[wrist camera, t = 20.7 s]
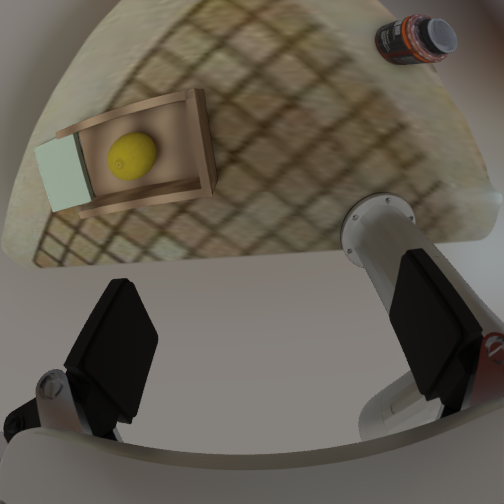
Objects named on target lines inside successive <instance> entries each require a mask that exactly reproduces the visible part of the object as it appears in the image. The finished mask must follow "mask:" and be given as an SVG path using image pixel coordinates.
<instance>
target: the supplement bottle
mask: <svg viewBox="0 0 504 504" xmlns="http://www.w3.org/2000/svg"><path fill="white" fill-rule="evenodd" d="M376 44H377V47H378V49H379V51H380V53H381V54H382V55H383V56H384V57H385V58H386V59H387V60H388V61H390V62H392V63H394V64H398V65H407V64H418V63H435V62H440V61H442V60H443V59H445V58H446V57H447V55H448V53H452V52H454V51H455V49H456V47H457V38H456V35H455V33H454V31H453V29H452V28H451V26H450V25H449V24H448V23H446V22H445V21H444V20H442V19H439V18H431V17H429V16H426V15H422V14H417V15H412V16H409V17H406V18H403V19H401V20H398V21H395V22H393V23H390V24H387V25H385V26H383V27H381V28H380V29H379V30H378V32H377V34H376Z"/></svg>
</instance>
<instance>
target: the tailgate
mask: <svg viewBox="0 0 504 504" xmlns="http://www.w3.org/2000/svg"><path fill="white" fill-rule="evenodd" d="M34 151H35V155H36V159H37V163H38V166H39V170H40V173H41V177H42V180H43V183H44V186H45V189H46V193H47V196H48V198H49V201H50V204H51V207H52V210H53V212H55V211H59V210H62V209H66V208H69V207H73V206H76V205H80V204H84V203H87V202H90V201H92V200H93V199H94V198H95V197H94V194H93V191H92V188H91V184H90V181H89V177H88V174H87V170H86V167H85V163H84V159H83V155H82V151H81V147H80V143H79V139H78V135H77V133H74V134H71V135H69V136H66V137H63V138H61V139H58V140H57V138H56V139H53V140H51V141H49V142H47V143H45V144H42V145H40V146H38V147H36V148H34Z"/></svg>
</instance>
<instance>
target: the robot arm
mask: <svg viewBox="0 0 504 504" xmlns="http://www.w3.org/2000/svg"><path fill="white" fill-rule="evenodd" d="M341 244H342V248H343V250H344V252H345V255H346V256H347V257H348V259H349V260H350V261H351V262H352V263H353V264H355V265H357V266H359V267H363V268H365V270H366V272H367V273H368V275H369V277H370V279H371V281H372V283H373V285H374V287H375V288H376V291H377V292H378V295H379V297H380V299H381V301H382V303H383V305H384V306H385V309H386V311H387V313H388V315H389V318H390V322H391V324H392V326H393V329H394V331H395V333H396V335H397V337H398V340H399V342H400V345H401V347H402V349H403V352H404V354H405V356H406V358H407V361H408V364H409V366H410V369H411V370H410V371H408V372H407V373H406V374H404V375H403V376H401V377H400V378H399V379H397V380H396V381H394V382H393V383H392V384H390V385H389V386H387V387H386V388H385V389H383V390H382V391H380V392H379V393H378V394H376V395H375V396H374V397H373V398H371V399H370V400H369V401H368V402H367V404H366V405H365V406H364V408H363V409H362V411H361V413H360V416H359V423H358V427H359V434H360V437H361V440H362V442H359V443H354V444H349V445H343V446H338V447H332V448H326V449H318V450H311V451H302V452H292V453H278V454H257V455H225V454H203V453H189V452H179V451H171V450H163V449H156V448H149V447H143V446H138V445H133V444H127V443H124V442H123V440H122V438H121V436H120V434H119V432H118V430H117V428H116V424H117V421H118V422H121V423H127V424H131V423H132V419H133V417H135V416H136V415H137V412H138V408H139V405H140V401H141V398H142V394H143V390H144V387H145V383H146V380H147V376H148V373H149V370H150V366H151V363H152V360H153V356H154V353H155V350H156V347H157V344H158V334H157V332H156V330H155V328H154V326H153V324H152V322H151V320H150V318H149V316H148V313H147V311H146V309H145V307H144V305H143V303H142V301H141V299H140V296H139V294H138V292H137V290H136V288H135V285H134V284H133V282H130V281H129V280H128V279H127V278H121V279H113V280H111V282H110V283H109V284H108V286H107V288H106V289H105V291H104V293H103V294H102V296H101V298H100V299H99V301H98V303H97V304H96V306H95V308H94V309H93V311H92V313H91V314H90V316H89V318H88V320H87V322H86V323H85V325H84V327H83V329H82V331H81V332H80V334H79V336H78V338H77V340H76V342H75V344H74V346H73V347H72V349H71V351H70V353H69V355H68V357H67V359H66V361H65V363H64V367H65V368H66V369H67V371H66V373H64V372H63V371H62V370H59V369H53V370H50V371H48V372H47V373H45V374H44V375H43V376H42V377H41V378H40V380H39V381H38V383H37V386H36V397H35V398H34V399H32V400H31V401H29V402H27V403H26V404H24V405H22V406H21V407H19V408H17V409H16V410H14V411H12V412H11V413H10V414H9V415H8V416H7V417H6V420H5V422H4V428H3V429H4V432H2V431H1V432H0V504H504V323H503V322H502V321H501V320H500V319H499V318H498V317H497V316H496V315H495V314H494V313H493V312H492V311H491V310H490V309H489V308H488V307H487V305H485V303H484V302H483V301H482V300H481V299H480V298H479V297H478V295H477V294H476V293H475V292H474V291H473V289H472V288H471V287H470V286H469V285H468V284H467V283H466V281H465V280H464V279H463V278H462V276H461V275H460V274H459V273H458V272H457V270H456V269H455V268H454V267H453V266H452V265H451V263H450V262H449V261H448V260H447V259H446V258H445V256H444V255H443V254H442V253H441V252H440V251H439V250H438V249H437V247H436V246H435V245H434V244H433V243H432V242H431V241H430V240H429V239H428V238H427V237H426V236H425V235H424V233H423V232H422V231H421V230H420V229H419V228H418V227H417V226H416V220H415V215H414V212H413V210H412V208H411V207H410V205H409V204H408V203H407V202H406V201H405V200H403V199H402V198H401V197H399V196H397V195H395V194H391V193H378V194H373V195H371V196H368V197H366V198H364V199H363V200H361V201H360V202H358V203H357V204H356V205H355V206H354V207H353V208H352V209H351V211H350V212H349V213H348V215H347V217H346V218H345V220H344V223H343V226H342V229H341Z"/></svg>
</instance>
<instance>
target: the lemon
mask: <svg viewBox="0 0 504 504" xmlns="http://www.w3.org/2000/svg"><path fill="white" fill-rule="evenodd" d="M156 157H157V149H156V145H155V143H154V141H153V140H152V138H150V137H149V136H148V135H146V134H144V133H141V132H131V133H127V134H125V135H122V136H121V137H120V138H118V139H117V140H116V141H115V142H114V143H113V145H112V146H111V147H110V150H109V152H108V156H107V164H108V167H109V169H110V171H111V173H112V174H113V175H114V176H115V177H117V178H118V179H121V180H127V181H130V180H135V179H138V178H140V177H142V176H144V175H146V174H147V173H148V172H149V171H150V170H151V168H152V167H153V165H154V164H155V161H156Z"/></svg>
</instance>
